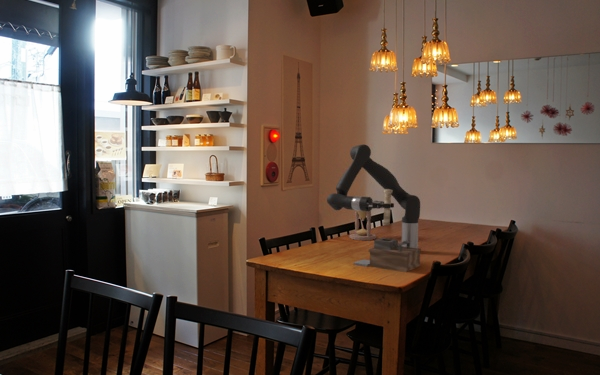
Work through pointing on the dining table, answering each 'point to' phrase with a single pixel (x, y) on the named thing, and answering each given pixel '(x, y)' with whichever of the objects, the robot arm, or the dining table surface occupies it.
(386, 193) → the pin
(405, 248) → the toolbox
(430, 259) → the dining table surface
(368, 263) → the mat
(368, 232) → the hourglass
